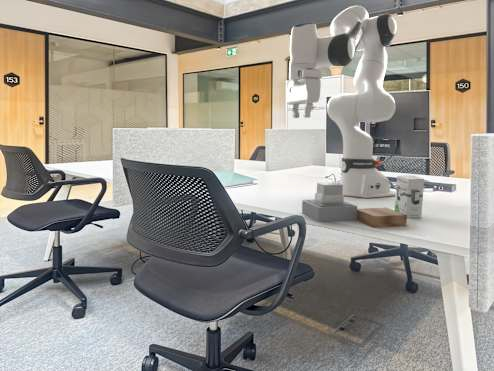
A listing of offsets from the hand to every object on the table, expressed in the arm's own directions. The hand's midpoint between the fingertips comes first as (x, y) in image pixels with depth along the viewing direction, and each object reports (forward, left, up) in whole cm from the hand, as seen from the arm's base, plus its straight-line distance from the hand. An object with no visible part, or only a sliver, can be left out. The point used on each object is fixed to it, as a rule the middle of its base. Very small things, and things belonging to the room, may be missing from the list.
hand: (301, 117), depth 136 cm
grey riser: (-2, +19, -29) cm, 35 cm away
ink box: (-27, +22, -29) cm, 46 cm away
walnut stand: (-13, +29, -29) cm, 43 cm away
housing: (-2, +19, -25) cm, 31 cm away
